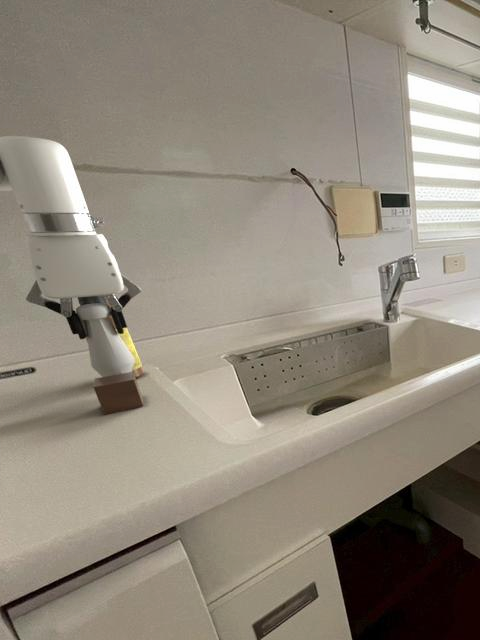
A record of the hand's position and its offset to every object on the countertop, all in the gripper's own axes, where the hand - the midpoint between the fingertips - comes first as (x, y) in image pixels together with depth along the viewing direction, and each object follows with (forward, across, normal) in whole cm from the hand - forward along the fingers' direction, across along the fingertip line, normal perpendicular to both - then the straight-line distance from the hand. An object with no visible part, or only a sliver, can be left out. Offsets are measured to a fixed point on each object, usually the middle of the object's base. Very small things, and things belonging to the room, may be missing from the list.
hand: (102, 333), depth 71 cm
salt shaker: (+8, 0, 0) cm, 8 cm away
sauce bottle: (+11, 0, -9) cm, 14 cm away
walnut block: (+11, 0, +8) cm, 14 cm away
